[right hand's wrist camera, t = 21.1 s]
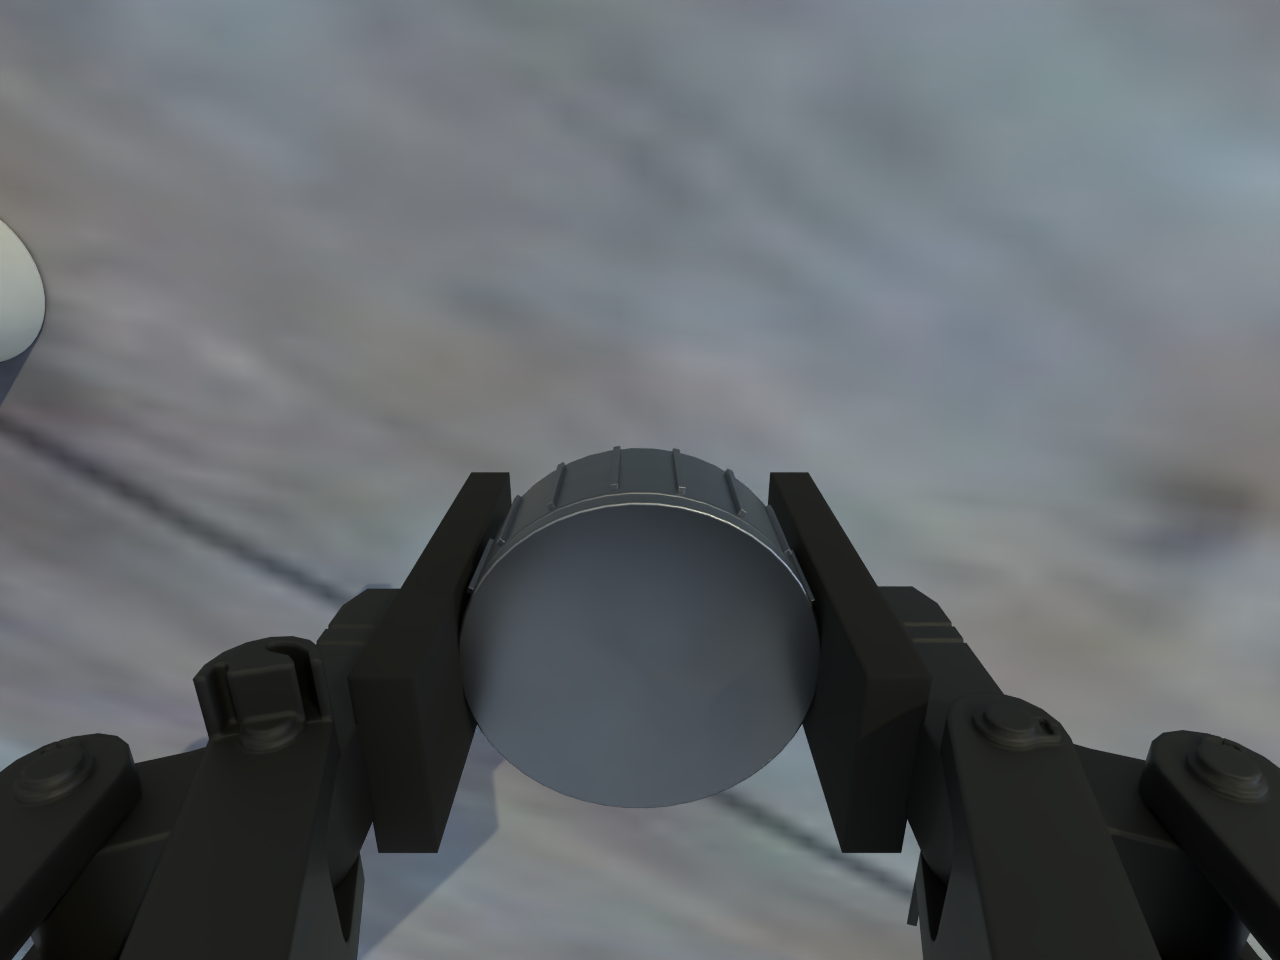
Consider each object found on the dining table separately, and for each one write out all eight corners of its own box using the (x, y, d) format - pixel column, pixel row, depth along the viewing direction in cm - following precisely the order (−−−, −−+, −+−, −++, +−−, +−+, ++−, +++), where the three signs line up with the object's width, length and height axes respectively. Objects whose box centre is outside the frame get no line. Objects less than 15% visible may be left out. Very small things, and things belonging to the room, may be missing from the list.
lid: (465, 689, 13) (432, 782, 11) (510, 411, 11) (480, 459, 9) (746, 738, 14) (766, 837, 12) (835, 479, 12) (878, 540, 10)
